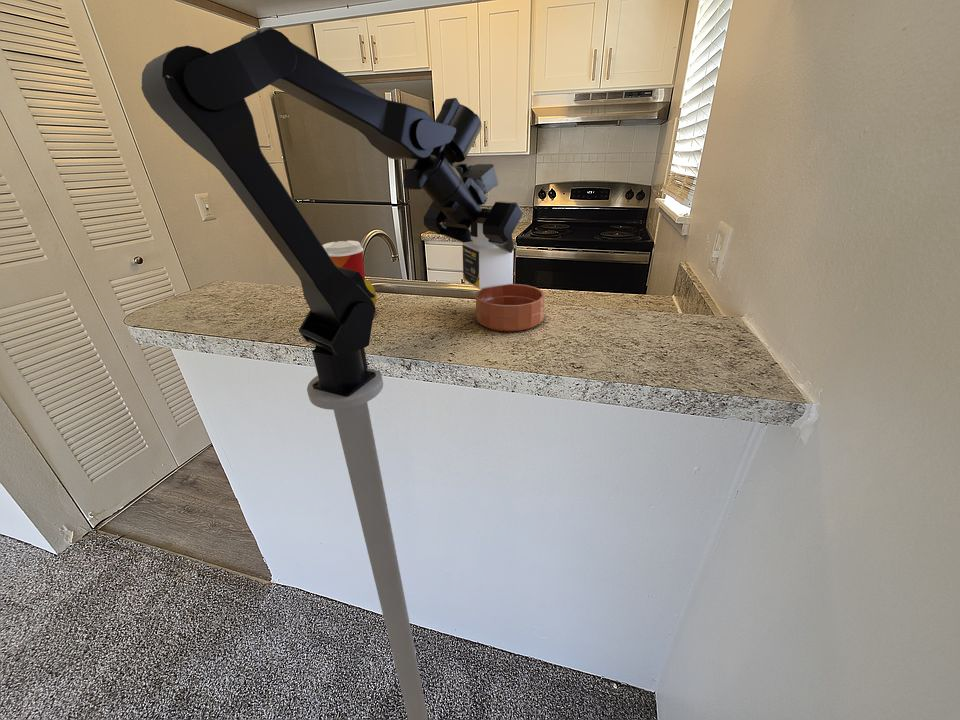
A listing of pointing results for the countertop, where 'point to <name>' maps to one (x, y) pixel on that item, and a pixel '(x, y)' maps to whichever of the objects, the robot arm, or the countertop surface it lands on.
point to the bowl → (510, 307)
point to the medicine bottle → (485, 261)
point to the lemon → (371, 289)
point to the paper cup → (346, 255)
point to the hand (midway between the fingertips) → (492, 247)
